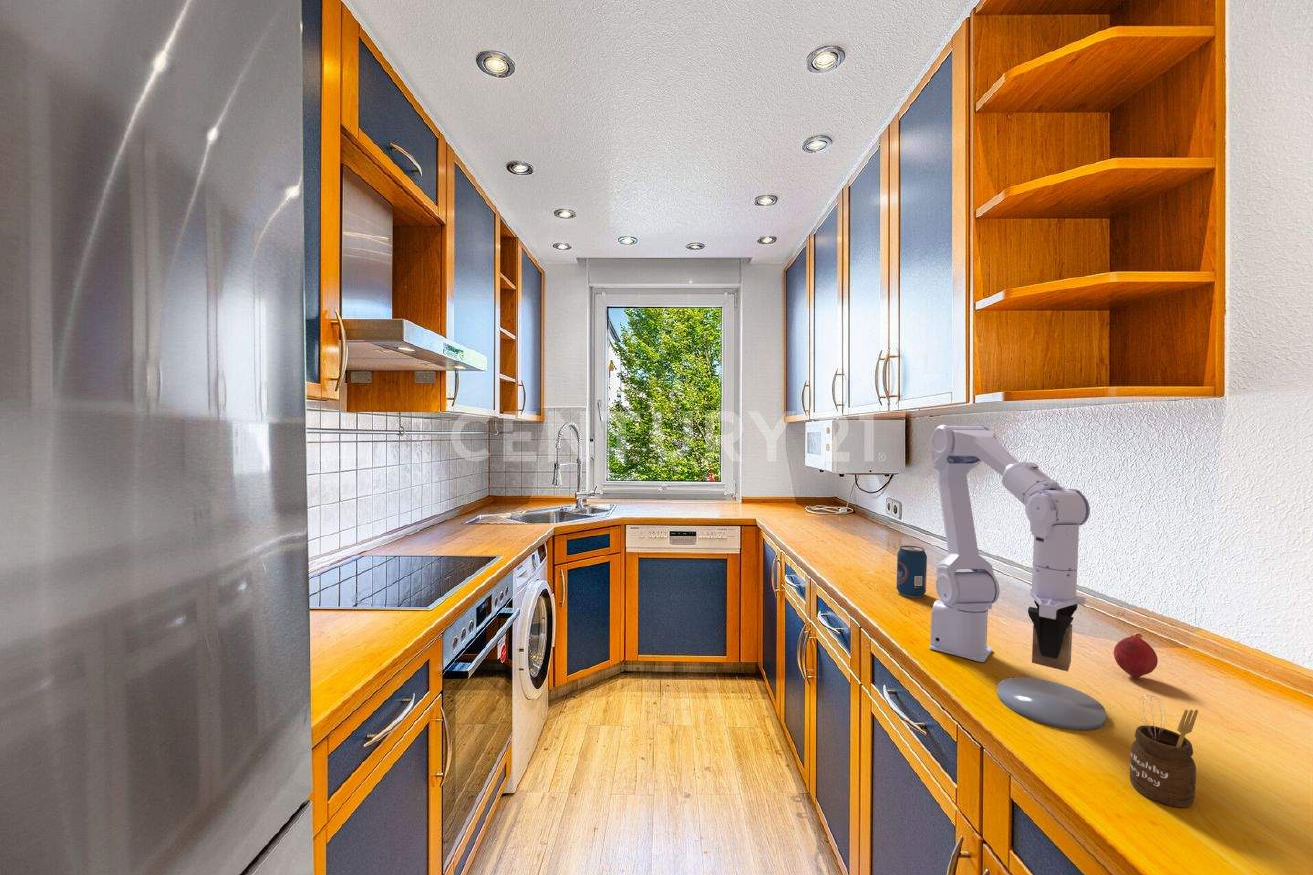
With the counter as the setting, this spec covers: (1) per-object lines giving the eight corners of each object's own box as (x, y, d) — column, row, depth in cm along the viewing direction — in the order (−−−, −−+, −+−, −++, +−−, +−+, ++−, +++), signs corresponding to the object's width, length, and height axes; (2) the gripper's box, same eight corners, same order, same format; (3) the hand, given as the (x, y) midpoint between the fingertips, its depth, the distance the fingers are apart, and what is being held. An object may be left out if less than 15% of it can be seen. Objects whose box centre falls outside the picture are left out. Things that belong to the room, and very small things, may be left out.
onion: (1139, 686, 95) (1142, 640, 95) (1104, 671, 101) (1106, 628, 100) (1164, 683, 97) (1166, 637, 96) (1128, 668, 102) (1130, 625, 102)
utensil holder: (1161, 776, 71) (1165, 683, 71) (1211, 811, 65) (1217, 709, 64) (1116, 776, 71) (1120, 683, 71) (1162, 811, 65) (1167, 710, 64)
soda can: (891, 590, 147) (892, 544, 147) (916, 589, 148) (918, 544, 147) (904, 598, 140) (906, 551, 140) (931, 598, 141) (932, 551, 140)
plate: (989, 706, 88) (989, 699, 88) (1006, 676, 98) (1006, 669, 98) (1103, 741, 79) (1103, 733, 79) (1108, 703, 89) (1108, 696, 89)
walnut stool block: (1031, 662, 88) (1033, 625, 88) (1036, 653, 92) (1037, 617, 91) (1067, 671, 85) (1069, 632, 85) (1070, 661, 88) (1072, 624, 88)
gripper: (1082, 581, 80) (1079, 674, 80) (1090, 561, 91) (1086, 644, 91) (1024, 571, 84) (1020, 660, 85) (1037, 554, 95) (1034, 632, 96)
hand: (1051, 651), depth 88 cm, fingers closed on walnut stool block, 5 cm apart
